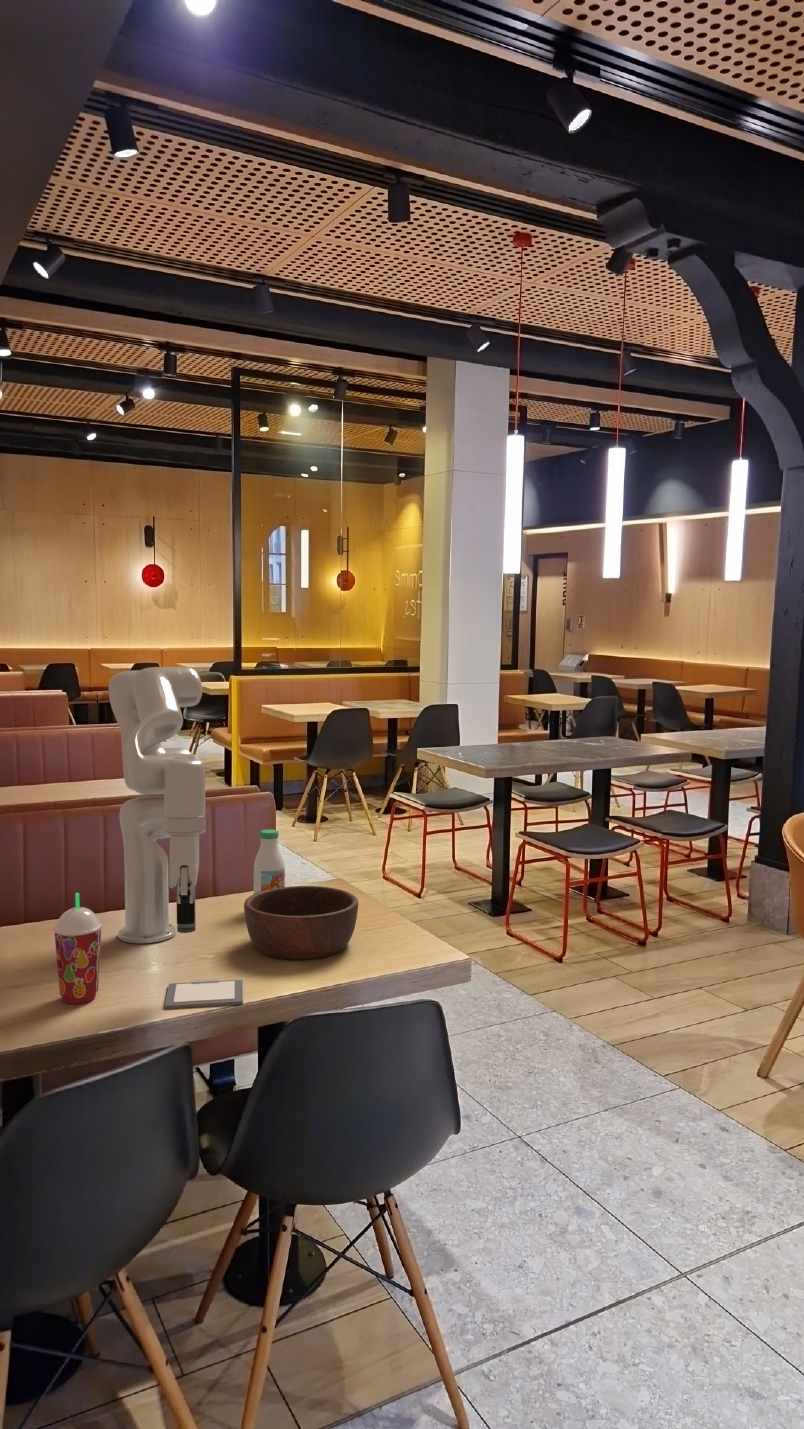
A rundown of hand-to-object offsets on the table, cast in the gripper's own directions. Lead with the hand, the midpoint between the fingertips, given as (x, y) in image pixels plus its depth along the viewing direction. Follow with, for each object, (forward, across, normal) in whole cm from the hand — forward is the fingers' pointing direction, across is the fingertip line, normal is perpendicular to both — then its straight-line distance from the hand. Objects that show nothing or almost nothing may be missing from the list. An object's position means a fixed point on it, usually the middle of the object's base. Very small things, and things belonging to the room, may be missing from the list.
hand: (186, 919), depth 173 cm
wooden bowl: (+14, -24, +23) cm, 36 cm away
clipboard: (+14, +2, +3) cm, 15 cm away
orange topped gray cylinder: (+2, 0, 0) cm, 2 cm away
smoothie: (+14, 0, -20) cm, 24 cm away
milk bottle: (+14, -52, +17) cm, 56 cm away
